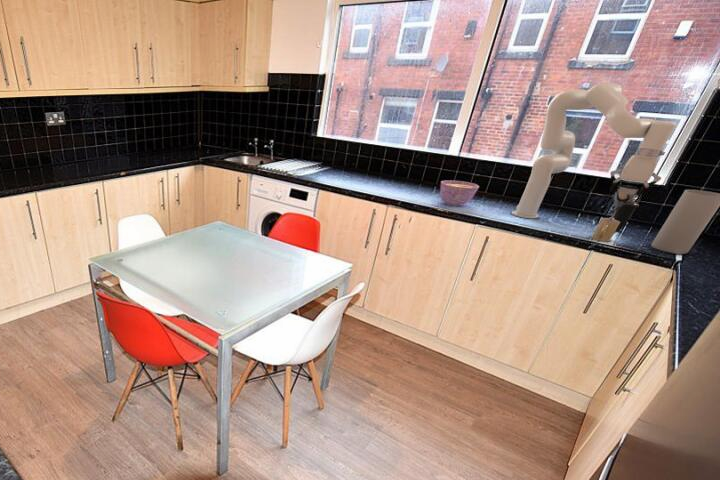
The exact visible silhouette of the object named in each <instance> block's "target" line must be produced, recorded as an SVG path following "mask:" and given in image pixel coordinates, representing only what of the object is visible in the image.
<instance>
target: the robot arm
mask: <svg viewBox="0 0 720 480" xmlns="http://www.w3.org/2000/svg"><path fill="white" fill-rule="evenodd" d="M622 93H623V89H622V87H621V86H620V85H619V84H618V83H614V82H613V83H612V82H601V83H597V84H594V85H593V86H592V87H590V88H589V89H567V90H564V91H561V92H559V93H558V94H556V95H555V96H554V97H553V98H552V99H551V100H550V102H549V104H548V106H547V109H546V113H545V114H546V115H545V122H544V127H543V131H542V137H541V142H540V148H541V149H542V150H543V151H544V152H545V151H546V152H552V153H545V154H542V155H540V156H539V157H537V158H536V159H535V160H534V162H533V164H532V168H531V173H530V176H529V178H528V181H527V184H526V186H525V189H524V190H523V193H522V195H521V197H520V200H519V203H518V204H517V205H516V210H512V211H511V215H513V216H515V217H519V218H523V219H530V220H531V219H533V220H534V219H538V218H539V216H540V215H539V214H538V210H539V209H540V207H541V204H542V202H543V200H544V197H545V195H546V193H547V191H548V188H549V186H550V184H551V179H552V174H560V173H562V172H565V171H566V170H567V169H568V168H569V166H570V164H571V161H572V157H573V154H574V153H573V152H574V148H575V144H576V136H575V134H574V133H573V132H572V131H570V130H566V126H567V119H568V118H567V111H581V110H582V111H583V110H588V109H592V108H595V109H596V110H597V111H598V112H599V113H600V114H601V115H602V116H604V117H605V120H606V124H607V125H608V127H609V128H610V129H611V130H613V131H614V132H615V133H616V134H617V135H619V136H620V137H622V138H624V139H642V141H641V144H639V147H638V148H637V150H636V152H635V154H632V155H631V156H630V157H629V159H627V162H626V163H625V165H624V166H623V167H622V168H619V169H615V170H612V171H610V179H611V181H612V184H611V186H610V188H609V191H610V193H614V192H615V190H616V188H617V186H618V182H620V181H622V180H623V181H628V182H629V181H631V182H636V183H643V186H642V187H640V191H639V192H638V194H637V197H641V196H643V195H644V194H645V192H646V191H647V189H648V188H649V187H651V186H654V185H655V184H656V183H658V182H660V181H661V180H662V177H661V176H660V175H658V174H656V172H655V170H656V168H657V165H658V163H659V160H660V156H664V155H665V154H666V151H663V149H664V147H665V146H666V144H667V143H668V141H669V138H670V137H671V136H672V134H673V132H674V130H675V128H677V127H676V126H677V123H676V122H675V121H671V120H670V121H668V120H657V119H653V118H641V117H640V118H638V117H637V118H636V117H635V116H634V115H633V114H631V113H630V112H629V111H628V109H627V106H628V105H629V100H628V98H626V97H625V96H624V95H622ZM615 174H619V175H618V176H619V177H615ZM651 177H653V178H654V180H653V181H650V180H651ZM649 181H650V182H649Z"/></svg>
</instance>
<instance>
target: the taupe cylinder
mask: <svg viewBox="0 0 720 480" xmlns="http://www.w3.org/2000/svg"><path fill="white" fill-rule="evenodd" d="M719 208H720V193H718V192H713V191H707V190H700V189H699V190H698V189H684V191H683V193H682V195H681V196H680V197H679V199H678V201H677V202H676V204H675V205H674V207H673V209H672V210H671V212H670V213H669V215H668V217H667V218H666V220H665V222H664V223H663V225H662V226H661V228H660V230H659V231H658V233H657V234H656V235H655V237H654V239H653V240H652V242H651V244H650V247H651V248H652V249H654V250H657V251H659V252H663V253H668V254H672V255H673V254H674V255H685V254H688V253H689V251H690V250H691V249H692V247H693V246H694V245H695V244H696V241H697V240H698V239H699V237H700V235H701V234H702V232H703V231H704V230H705V228H706V227H707V225H708V224H709V222H710V221H711V219H712V218H713V217H714V216H715V213H716V212H717V211H718V209H719Z"/></svg>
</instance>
